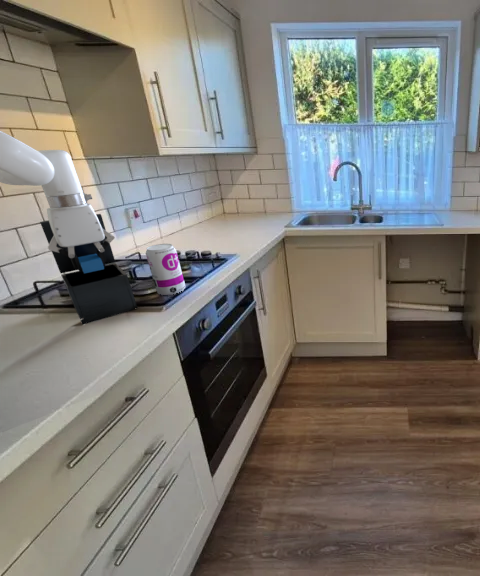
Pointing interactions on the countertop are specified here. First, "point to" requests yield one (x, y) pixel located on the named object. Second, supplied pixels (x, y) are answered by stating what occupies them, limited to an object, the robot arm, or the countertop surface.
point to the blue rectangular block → (90, 263)
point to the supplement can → (165, 269)
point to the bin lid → (76, 249)
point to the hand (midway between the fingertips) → (91, 267)
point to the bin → (100, 293)
